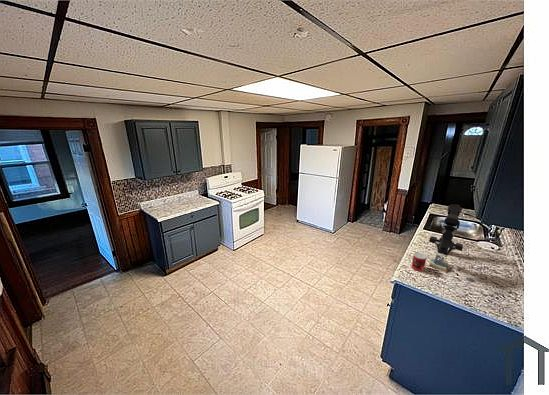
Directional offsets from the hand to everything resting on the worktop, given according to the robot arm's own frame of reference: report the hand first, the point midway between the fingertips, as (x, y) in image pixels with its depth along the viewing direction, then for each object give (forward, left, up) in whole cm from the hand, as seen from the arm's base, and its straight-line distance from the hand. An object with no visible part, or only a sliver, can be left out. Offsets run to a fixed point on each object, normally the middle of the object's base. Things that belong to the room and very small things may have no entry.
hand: (442, 253), depth 157 cm
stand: (0, 0, -11) cm, 11 cm away
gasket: (+4, +18, -11) cm, 21 cm away
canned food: (+13, -11, -11) cm, 21 cm away
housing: (0, -1, -8) cm, 8 cm away
